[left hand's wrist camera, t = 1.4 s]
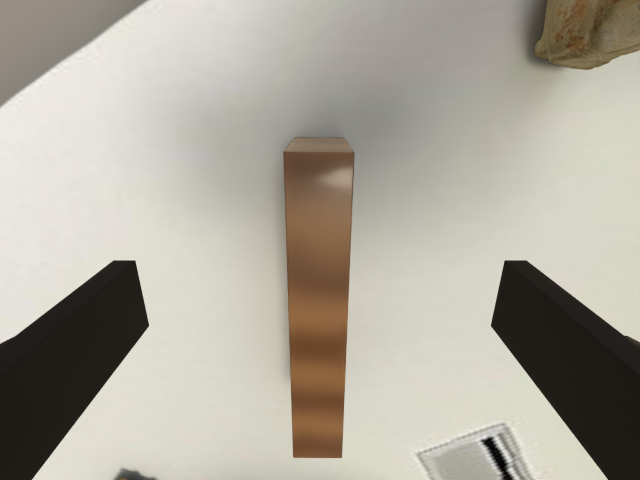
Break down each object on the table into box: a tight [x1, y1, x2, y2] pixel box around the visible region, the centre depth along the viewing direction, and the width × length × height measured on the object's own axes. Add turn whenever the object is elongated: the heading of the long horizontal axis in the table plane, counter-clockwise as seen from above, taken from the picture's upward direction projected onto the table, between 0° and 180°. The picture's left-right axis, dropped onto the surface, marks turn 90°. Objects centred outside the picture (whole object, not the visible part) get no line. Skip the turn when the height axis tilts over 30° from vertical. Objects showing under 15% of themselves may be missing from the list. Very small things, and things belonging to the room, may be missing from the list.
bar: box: [284, 137, 354, 458], centre depth 31 cm, size 27×4×10 cm, turn 0°
